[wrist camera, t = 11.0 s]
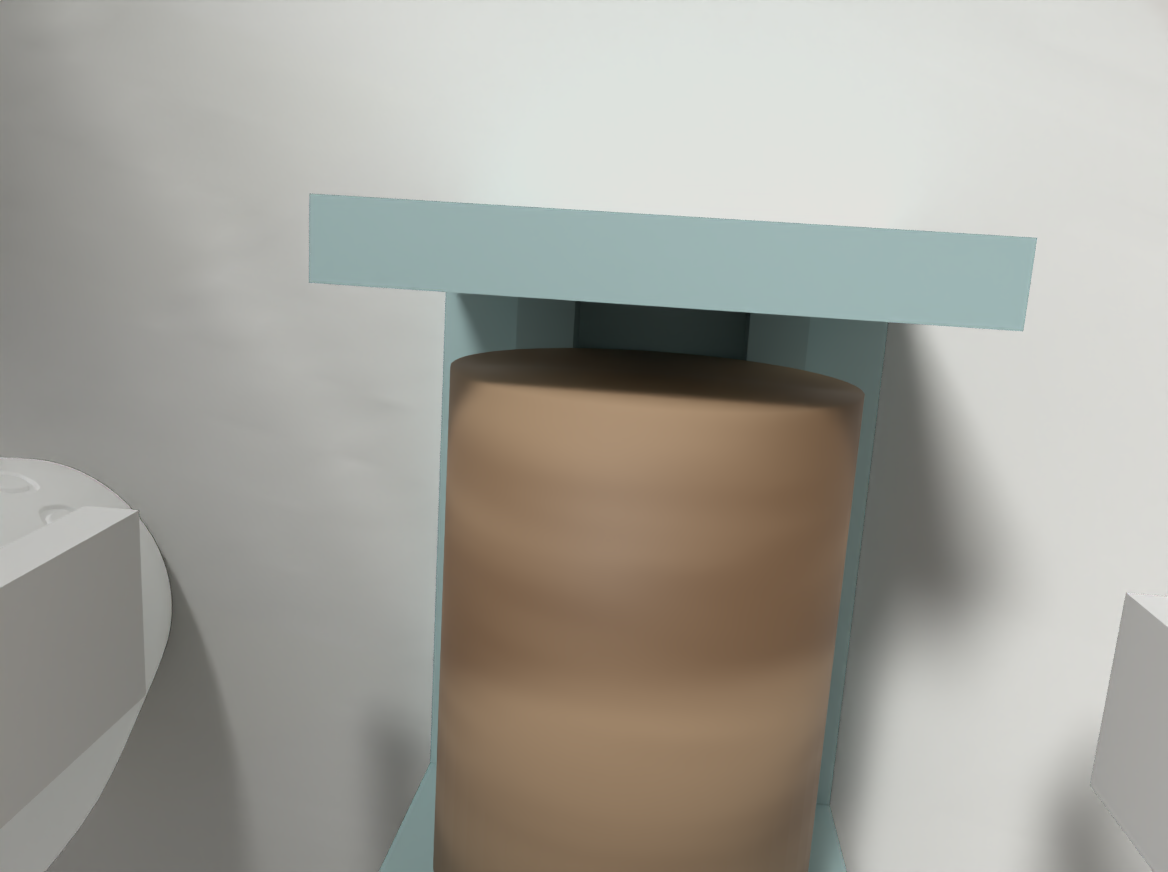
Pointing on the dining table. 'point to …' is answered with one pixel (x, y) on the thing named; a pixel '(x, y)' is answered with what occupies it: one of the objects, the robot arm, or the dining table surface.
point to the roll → (638, 610)
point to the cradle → (670, 332)
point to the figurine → (51, 491)
